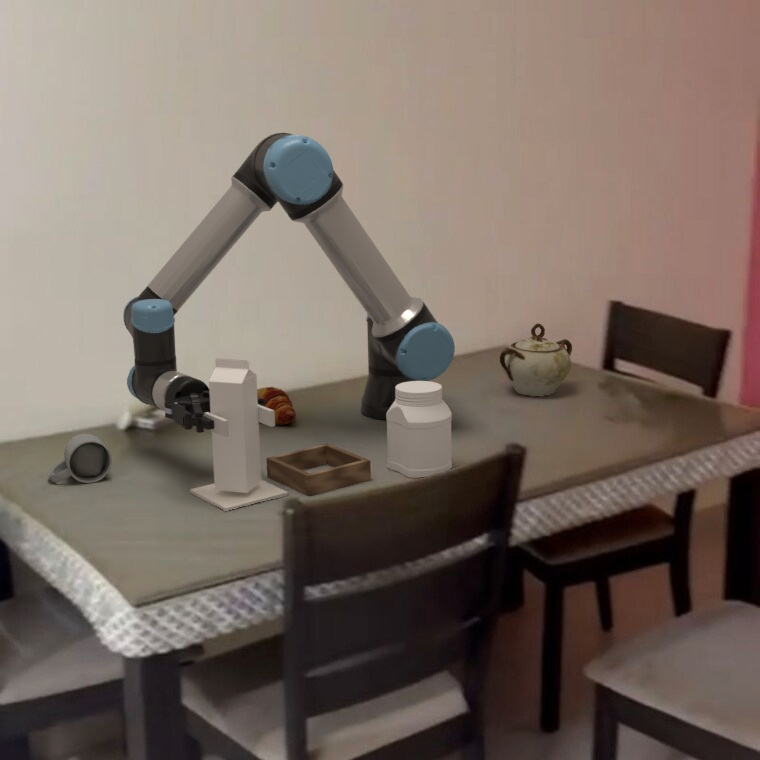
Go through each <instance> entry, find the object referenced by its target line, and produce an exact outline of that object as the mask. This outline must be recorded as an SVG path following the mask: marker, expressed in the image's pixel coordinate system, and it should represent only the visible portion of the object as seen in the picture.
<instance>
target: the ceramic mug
mask: <svg viewBox="0 0 760 760" xmlns="http://www.w3.org/2000/svg"><path fill="white" fill-rule="evenodd" d="M63 457H64V460H62V461H60V462H59V463H57V464H56V465H54V466H53V467H52V468H51V469H50V470H49V471H48V473H47V476H48V478H49V479H50V481H51V483H52V484H53V483H59V482H62V481H64V480H66V479H68V478H70V477H72V478H73V479H75V481H76V482H77V481H78V482H80V483H82V484H93V482H94V483H97V482H99V481H102V480H103V479H104V478H105V477H106V476H107V475H108V473H109V472H110V470H111V467H112V461H113V459H112V454H111V451H110V450H109V448H108V447H107V445H106V444H105V443H104V442H103V441H102V440H101V439H100V438H99V437H97V436H95V435H93V434H90V433H82V434H77V435H75V436H73V437H72V438H70V439H69V440H68V442H67V443H66V446H65V448H64V452H63Z"/></svg>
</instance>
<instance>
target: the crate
mask: <svg viewBox="0 0 760 760" xmlns="http://www.w3.org/2000/svg"><path fill="white" fill-rule="evenodd" d="M324 464H326V465H327V464H328V465H327V466H329V465H331V466H330V468H326V469H322V470H318V471H314V472H310V473H309V472H306V471H305V470H308V469H313V468H312V467H314V468H317V466H318V467H321V466H320V465H322V466H325V465H324ZM332 466H333V467H332ZM371 469H372V468H371V460H370V459H368V458H365V457H363V456H360V455H357V454H355V453H353V452H351V451H347V450H345V449H342V448H339V447H337V446H334V445H332V444H330V443H323V444H320V445H314V446H311V447H310V446H309V447H307V448H303V449H298V450H294V451H290V452H289V451H288V452H286V453H282V454H281V453H280V454H278V455H273V456H269V457H266V477H267V478H269V479H271V480H274V481H275V482H278V483H280V484H282V485H284V486H286V487H289V488H290V489H292V490H295V491H296V492H299V493H301V494H303V495H305V496H308V497H310V496H314V495H318V494H321V493H322V494H323V493H325V492H329V491H333V490H337V489H340V488H344V487H348V486H353V485H356V484H360V483H363V482H367V481H370V480H371V479H372V478H371V477H372V474H371V473H372V472H371V471H372V470H371Z"/></svg>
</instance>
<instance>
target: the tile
mask: <svg viewBox="0 0 760 760" xmlns="http://www.w3.org/2000/svg"><path fill="white" fill-rule="evenodd" d="M189 493H190V494H191V495H193V496H195V497H197V498H199V499H201V500H203V501H205V502H207V503H209V502H210V503H211V505H212V504H213V506H214V505H215V507H216V506H217V507H216V508H218V507H219V508H218V509H220V508H221V509H220V510H222V509H223V510H222V511H224V512H226V511H227V512H230V511H229V510H231V511H233V510H232V509H235V508H238V507H242V506H245V505H248V504H254V503H257V502H261V503H263V502H262V501H265V502H267V501H266V500H269V501H271V499H273V500H276V498H277V499H280V498H284V497H287V496H289V492H288V491H286V490H285V489H282V488H280V487H278V486H276V485H273V484H271V483H270V482H268V481H265V480H263V479H261V482H260V483H259V484H258V485H256V486H255V487H254V488H253V489H251V490H250V491H249V492H248V493H242V492H232V491H222V490H215V482H214V483H211V484H206V485H203V486H202V485H201V486H198V487H194V488H190V489H189ZM210 503H209V504H210ZM254 505H255V504H254ZM242 508H243V507H242ZM235 510H236V509H235Z"/></svg>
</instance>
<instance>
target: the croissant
mask: <svg viewBox="0 0 760 760" xmlns="http://www.w3.org/2000/svg"><path fill="white" fill-rule="evenodd" d="M257 397H258V398H263V399H265V407H267V408H269V409H272V410H274V413H275V425H283V426H284V425H287V424H290V423H292V422H294V421H295V420H296V411H295V409H294V407H293V402H292V400H291V399H290V397H289V395H288V394H287V392H285V391H284V390H283V389H281V388H278V387H275V386H274V387H273V386H266V387H260V388H257Z"/></svg>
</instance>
